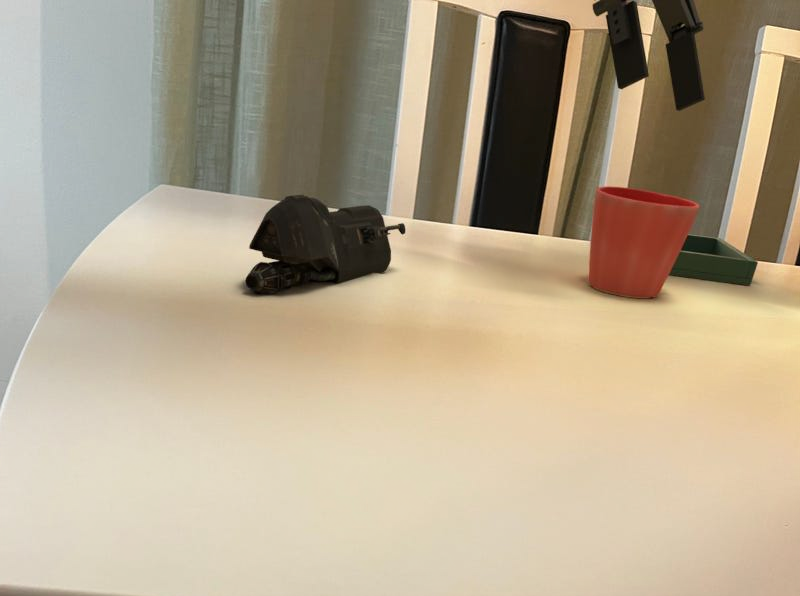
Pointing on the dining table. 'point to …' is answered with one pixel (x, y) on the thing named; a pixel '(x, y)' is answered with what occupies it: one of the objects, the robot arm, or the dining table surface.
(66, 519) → the dining table surface
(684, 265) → the plant tray
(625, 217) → the flower pot
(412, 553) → the dining table surface
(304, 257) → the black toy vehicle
